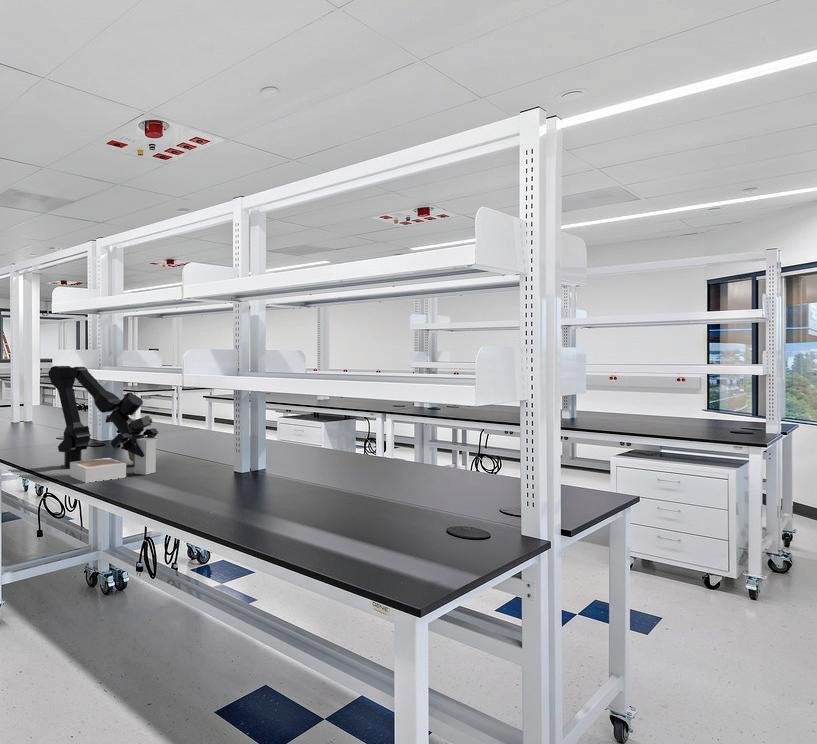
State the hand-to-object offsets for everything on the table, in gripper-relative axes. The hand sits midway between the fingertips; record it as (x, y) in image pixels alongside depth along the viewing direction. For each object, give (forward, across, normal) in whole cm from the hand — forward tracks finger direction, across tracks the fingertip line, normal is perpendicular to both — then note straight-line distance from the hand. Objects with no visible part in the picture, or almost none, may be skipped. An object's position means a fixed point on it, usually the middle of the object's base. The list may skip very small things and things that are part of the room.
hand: (148, 455), depth 211 cm
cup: (-5, +12, +15) cm, 20 cm away
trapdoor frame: (-4, -11, +13) cm, 18 cm away
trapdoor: (-4, -11, +13) cm, 18 cm away
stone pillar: (+4, 0, +6) cm, 7 cm away
